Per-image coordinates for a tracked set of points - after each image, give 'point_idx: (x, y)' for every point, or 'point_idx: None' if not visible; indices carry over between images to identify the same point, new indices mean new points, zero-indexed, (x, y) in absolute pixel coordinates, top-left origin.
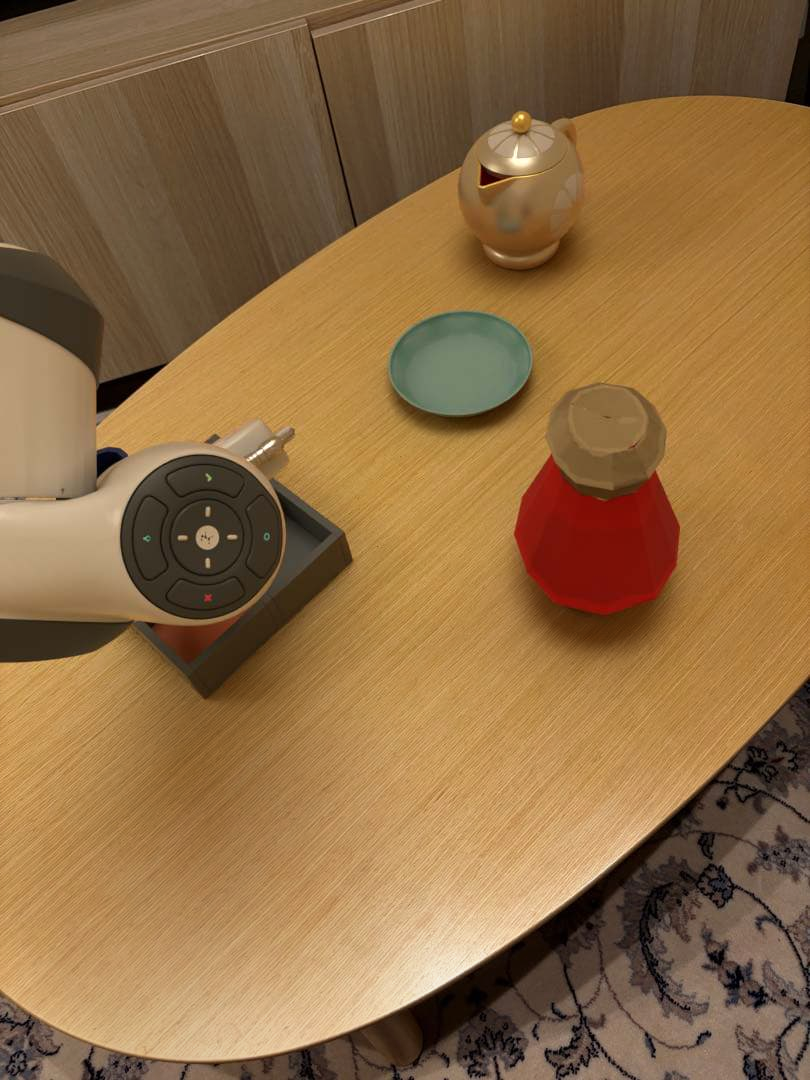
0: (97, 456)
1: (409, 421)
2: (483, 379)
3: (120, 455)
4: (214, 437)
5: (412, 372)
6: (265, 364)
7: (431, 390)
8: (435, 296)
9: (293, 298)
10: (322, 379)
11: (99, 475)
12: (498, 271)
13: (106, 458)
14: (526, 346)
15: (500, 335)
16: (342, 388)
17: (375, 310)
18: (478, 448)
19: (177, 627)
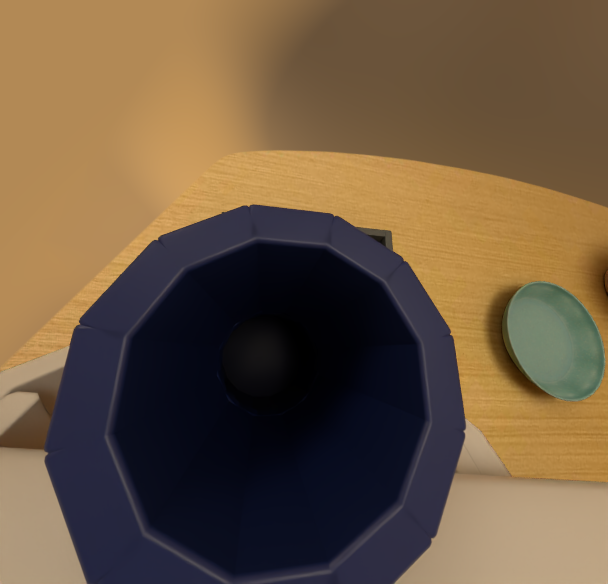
0: (308, 251)
1: (486, 335)
2: (548, 356)
3: (426, 400)
4: (388, 233)
5: (514, 306)
6: (442, 209)
7: (515, 330)
8: (558, 270)
9: (487, 187)
10: (462, 253)
11: (251, 291)
12: (601, 292)
13: (332, 281)
14: (599, 370)
15: (582, 340)
16: (468, 271)
17: (522, 242)
18: (508, 399)
19: None
